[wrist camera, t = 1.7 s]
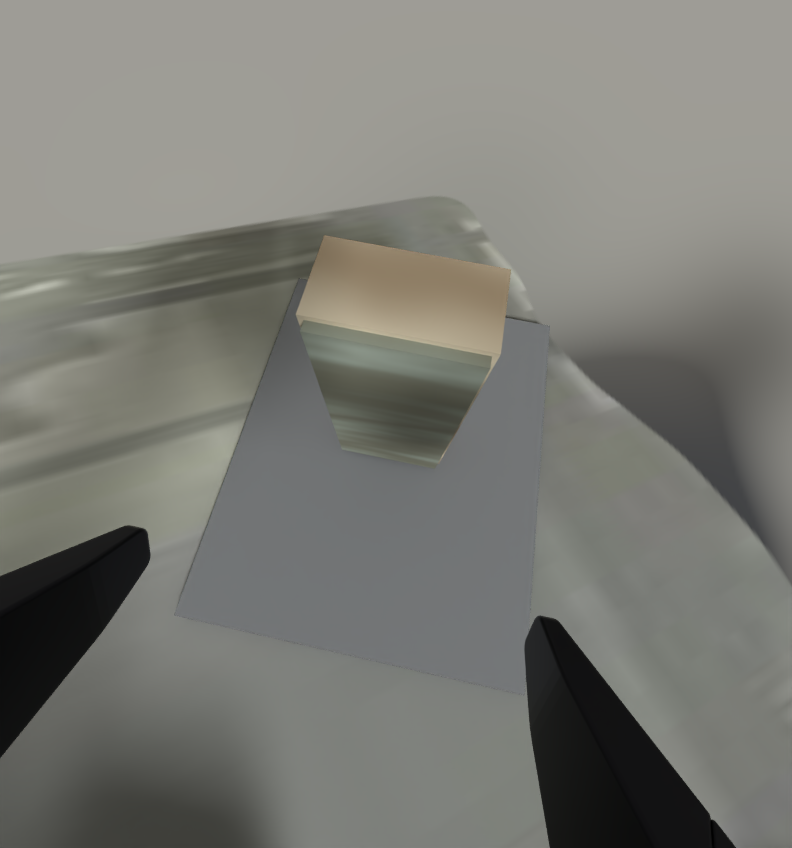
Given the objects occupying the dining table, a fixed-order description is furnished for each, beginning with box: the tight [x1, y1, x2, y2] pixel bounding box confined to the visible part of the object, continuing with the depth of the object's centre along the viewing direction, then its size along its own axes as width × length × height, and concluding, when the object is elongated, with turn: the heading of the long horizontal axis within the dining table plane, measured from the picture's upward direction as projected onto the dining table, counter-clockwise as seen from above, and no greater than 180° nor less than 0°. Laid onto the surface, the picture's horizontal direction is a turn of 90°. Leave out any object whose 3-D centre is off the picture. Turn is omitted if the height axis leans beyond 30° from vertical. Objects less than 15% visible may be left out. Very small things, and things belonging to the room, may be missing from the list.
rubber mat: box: [174, 278, 550, 695], centre depth 23 cm, size 22×18×1 cm
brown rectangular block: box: [296, 235, 511, 469], centre depth 17 cm, size 4×6×12 cm, turn 78°
